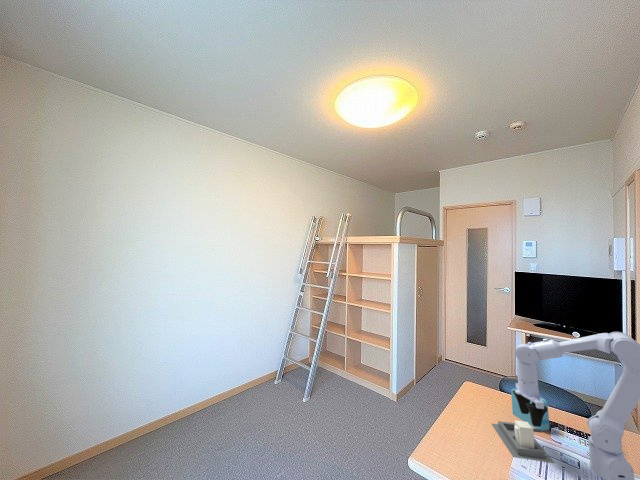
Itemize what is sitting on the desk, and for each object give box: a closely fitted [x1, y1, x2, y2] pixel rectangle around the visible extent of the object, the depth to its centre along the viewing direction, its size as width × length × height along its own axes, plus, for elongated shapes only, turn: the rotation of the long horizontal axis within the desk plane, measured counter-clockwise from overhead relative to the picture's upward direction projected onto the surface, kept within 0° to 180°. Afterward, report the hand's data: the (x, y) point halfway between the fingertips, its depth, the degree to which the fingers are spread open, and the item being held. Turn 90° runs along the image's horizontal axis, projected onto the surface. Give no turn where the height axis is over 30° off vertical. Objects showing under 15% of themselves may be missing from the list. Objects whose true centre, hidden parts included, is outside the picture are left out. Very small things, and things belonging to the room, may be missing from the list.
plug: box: [513, 419, 543, 449], centre depth 92 cm, size 4×8×8 cm, turn 76°
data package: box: [510, 388, 550, 432], centre depth 108 cm, size 12×4×12 cm, turn 11°
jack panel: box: [491, 421, 556, 464], centre depth 96 cm, size 19×12×3 cm, turn 166°
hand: (530, 419), depth 94 cm, fingers open, 7 cm apart
